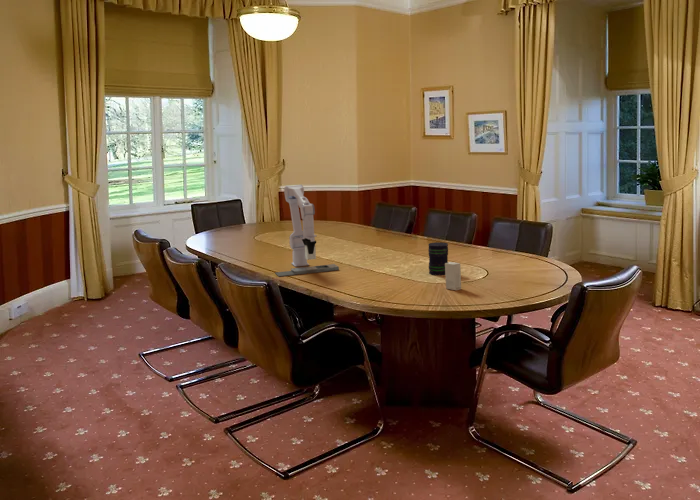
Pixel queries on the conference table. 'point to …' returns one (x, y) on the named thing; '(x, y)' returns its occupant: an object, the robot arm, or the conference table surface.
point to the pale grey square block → (310, 256)
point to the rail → (315, 269)
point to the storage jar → (437, 258)
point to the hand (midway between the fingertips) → (309, 253)
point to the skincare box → (453, 276)
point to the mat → (284, 273)
